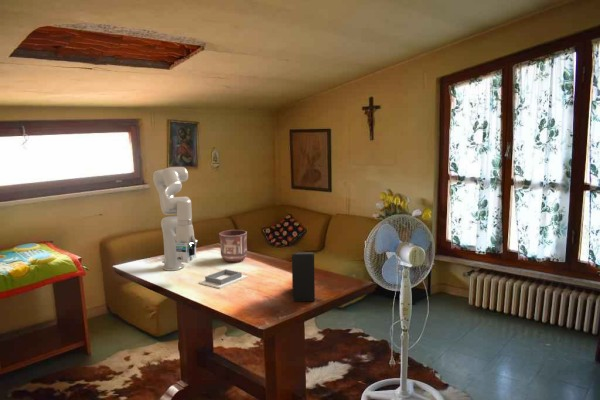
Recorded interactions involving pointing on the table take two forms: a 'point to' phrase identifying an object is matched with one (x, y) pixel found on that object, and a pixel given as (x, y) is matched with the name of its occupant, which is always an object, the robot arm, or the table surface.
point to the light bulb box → (184, 252)
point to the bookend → (303, 276)
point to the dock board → (223, 278)
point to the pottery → (233, 245)
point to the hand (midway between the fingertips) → (186, 253)
